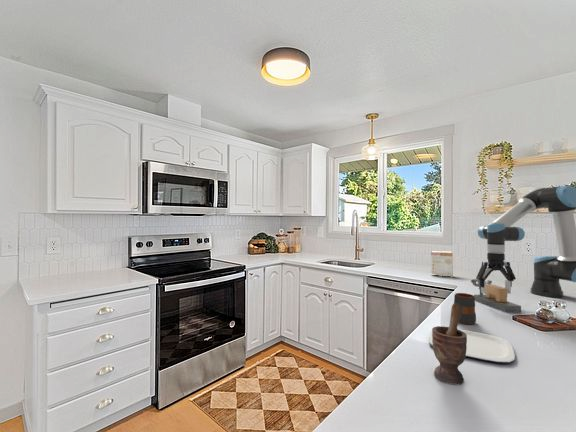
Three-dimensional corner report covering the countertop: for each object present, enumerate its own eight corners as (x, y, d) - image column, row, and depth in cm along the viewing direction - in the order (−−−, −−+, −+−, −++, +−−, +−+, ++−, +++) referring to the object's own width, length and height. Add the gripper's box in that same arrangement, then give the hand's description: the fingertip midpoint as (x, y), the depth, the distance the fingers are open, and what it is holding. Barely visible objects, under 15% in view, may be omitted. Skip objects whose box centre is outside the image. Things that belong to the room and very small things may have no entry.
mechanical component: (492, 298, 171) (492, 280, 171) (472, 297, 173) (472, 279, 173) (489, 296, 174) (489, 279, 174) (470, 295, 176) (470, 278, 176)
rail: (487, 299, 167) (487, 294, 167) (521, 312, 145) (521, 305, 145) (473, 300, 166) (473, 294, 166) (505, 312, 144) (505, 306, 145)
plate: (518, 371, 89) (518, 366, 89) (425, 351, 102) (425, 346, 102) (510, 342, 110) (510, 337, 110) (434, 328, 123) (434, 324, 124)
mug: (477, 319, 135) (477, 293, 135) (475, 326, 125) (475, 298, 125) (455, 315, 140) (455, 290, 140) (451, 322, 130) (451, 295, 130)
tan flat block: (492, 302, 161) (492, 284, 161) (507, 308, 151) (507, 288, 151) (485, 303, 161) (485, 284, 161) (500, 308, 151) (499, 288, 151)
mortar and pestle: (433, 363, 93) (433, 298, 93) (465, 370, 89) (465, 302, 89) (431, 380, 82) (431, 308, 83) (467, 389, 78) (467, 313, 79)
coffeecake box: (452, 276, 237) (452, 251, 237) (452, 277, 231) (452, 252, 231) (432, 274, 245) (432, 250, 245) (431, 275, 239) (431, 251, 239)
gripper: (512, 251, 161) (512, 291, 161) (468, 251, 159) (468, 291, 159) (524, 253, 153) (524, 294, 153) (478, 253, 151) (478, 295, 151)
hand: (495, 293), depth 156 cm, fingers open, 13 cm apart
